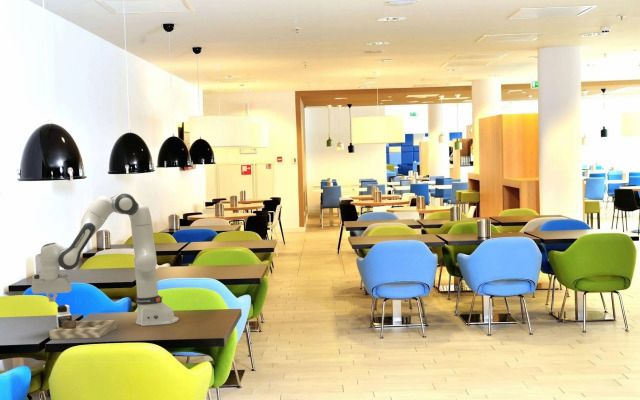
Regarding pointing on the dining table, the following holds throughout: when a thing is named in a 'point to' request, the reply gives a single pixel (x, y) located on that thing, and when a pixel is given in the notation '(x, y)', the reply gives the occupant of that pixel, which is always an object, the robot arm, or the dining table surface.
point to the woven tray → (84, 330)
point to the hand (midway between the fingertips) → (52, 301)
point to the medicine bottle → (63, 315)
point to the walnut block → (69, 324)
